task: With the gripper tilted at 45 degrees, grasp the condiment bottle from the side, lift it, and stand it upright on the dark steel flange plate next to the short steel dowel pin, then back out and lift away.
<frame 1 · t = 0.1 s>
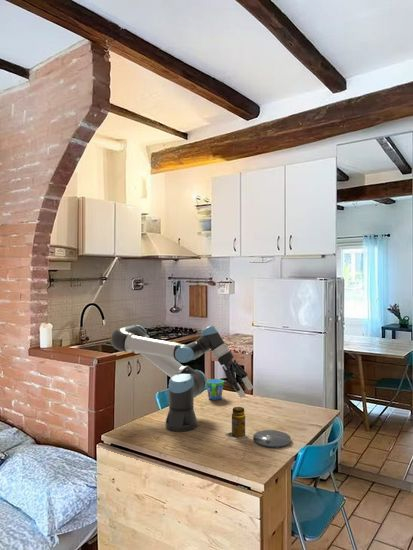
hand: (247, 392, 202), 15 cm above the table, tool tilted 35°, fingers open, 13 cm apart
flange plate: (271, 440, 183), on the table
snack cup: (215, 398, 244), on the table
condiment: (236, 435, 189), on the table
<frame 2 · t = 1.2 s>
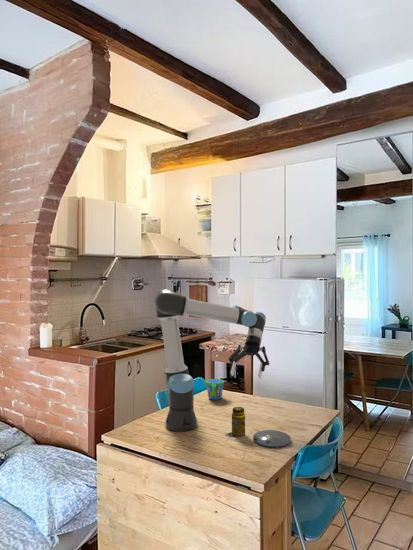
hand: (245, 375, 200), 24 cm above the table, tool tilted 45°, fingers open, 13 cm apart
nothing on the table moved.
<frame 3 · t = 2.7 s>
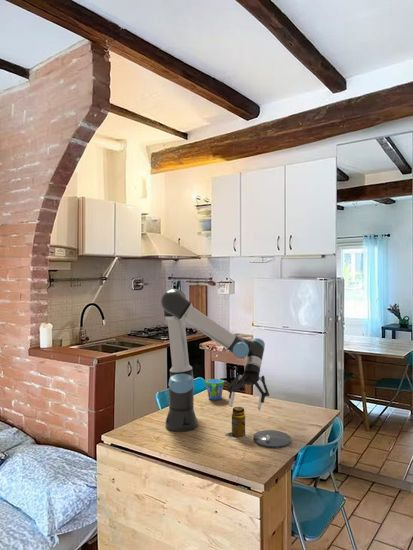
hand: (244, 407, 195), 11 cm above the table, tool tilted 45°, fingers open, 13 cm apart
nothing on the table moved.
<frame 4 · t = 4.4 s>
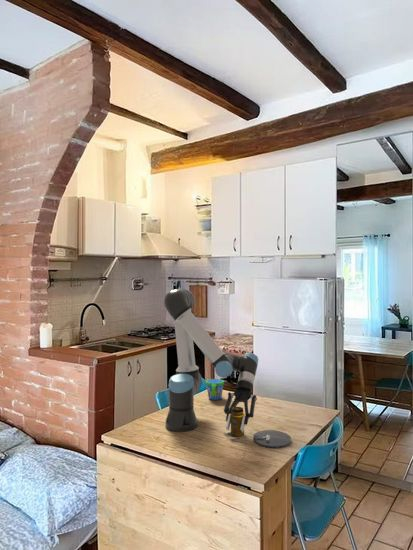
hand: (234, 429, 186), 4 cm above the table, tool tilted 45°, fingers closed on condiment, 6 cm apart
condiment: (235, 435, 189), on the table, touching gripper
everything else where it was.
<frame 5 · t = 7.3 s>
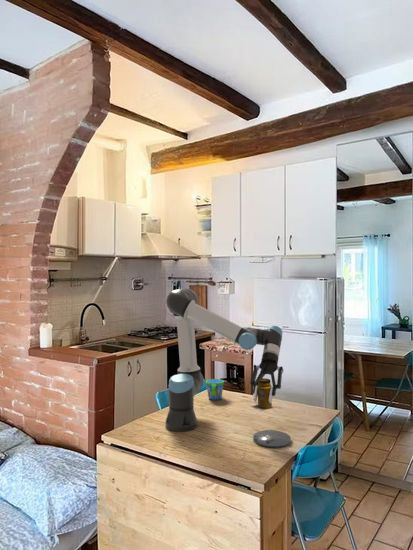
hand: (262, 401, 181), 18 cm above the table, tool tilted 45°, fingers closed on condiment, 6 cm apart
condiment: (263, 407, 184), point 14 cm above the table, touching gripper
everything else where it was.
when the fingers open (7 cm above the table, at t = 9.8 s): condiment drops 1 cm, resting on flange plate.
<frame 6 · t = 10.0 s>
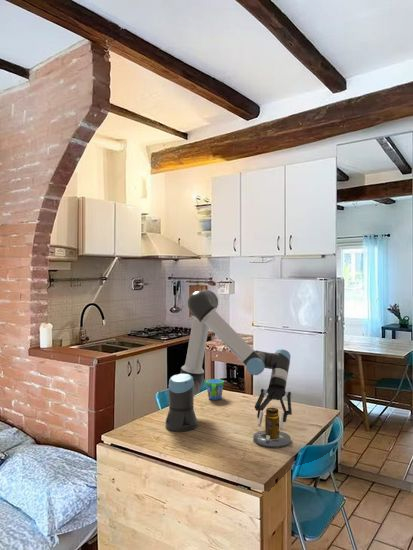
hand: (269, 427, 180), 7 cm above the table, tool tilted 45°, fingers open, 9 cm apart
condiment: (270, 437, 183), point 1 cm above the table, touching flange plate
everything else where it was.
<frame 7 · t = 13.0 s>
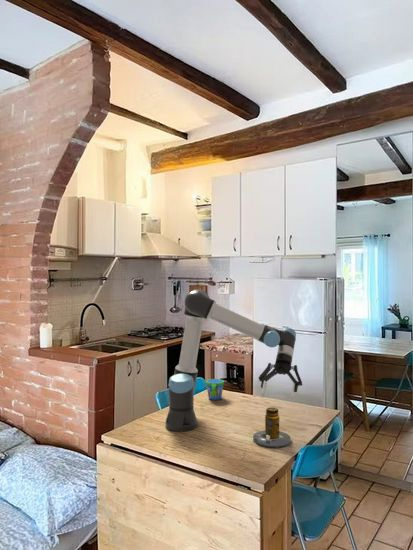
hand: (277, 396, 191), 17 cm above the table, tool tilted 45°, fingers open, 13 cm apart
nothing on the table moved.
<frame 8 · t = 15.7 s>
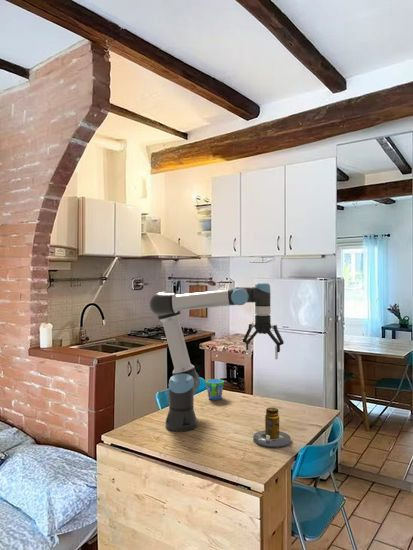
hand: (262, 357, 208), 31 cm above the table, tool pointing down, fingers open, 13 cm apart
nothing on the table moved.
at the end: condiment inside the target area on the flange plate (0.6 cm from its centre), point 1.3 cm above the flange plate's base; condiment tilted 0°; the gripper is holding nothing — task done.
